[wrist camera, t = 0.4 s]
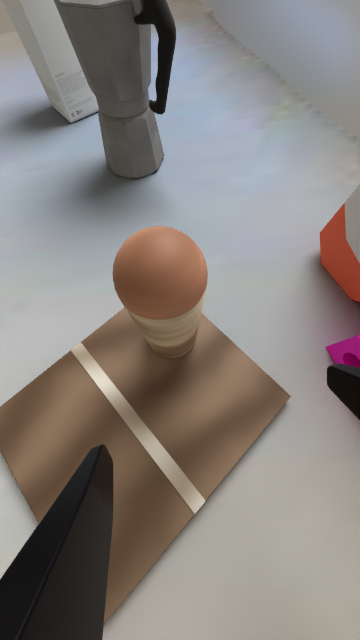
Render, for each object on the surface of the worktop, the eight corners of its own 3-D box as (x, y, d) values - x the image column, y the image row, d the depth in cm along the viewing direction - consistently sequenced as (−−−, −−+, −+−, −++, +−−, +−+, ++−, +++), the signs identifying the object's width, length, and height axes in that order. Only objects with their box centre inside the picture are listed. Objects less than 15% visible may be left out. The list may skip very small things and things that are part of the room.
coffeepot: (86, 159, 33) (-13, -83, 17) (126, 131, 36) (76, -103, 19) (157, 201, 30) (123, -55, 13) (196, 166, 32) (210, -85, 16)
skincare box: (100, 111, 38) (49, -64, 24) (69, 125, 37) (-6, -52, 22) (79, 93, 41) (21, -76, 26) (48, 106, 39) (-31, -66, 25)
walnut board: (285, 396, 20) (291, 396, 19) (102, 618, 15) (96, 634, 14) (163, 281, 25) (162, 276, 24) (-7, 418, 20) (-17, 419, 19)
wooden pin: (206, 335, 21) (237, 245, 9) (170, 369, 20) (147, 321, 8) (173, 304, 23) (160, 186, 10) (138, 334, 21) (73, 243, 9)
